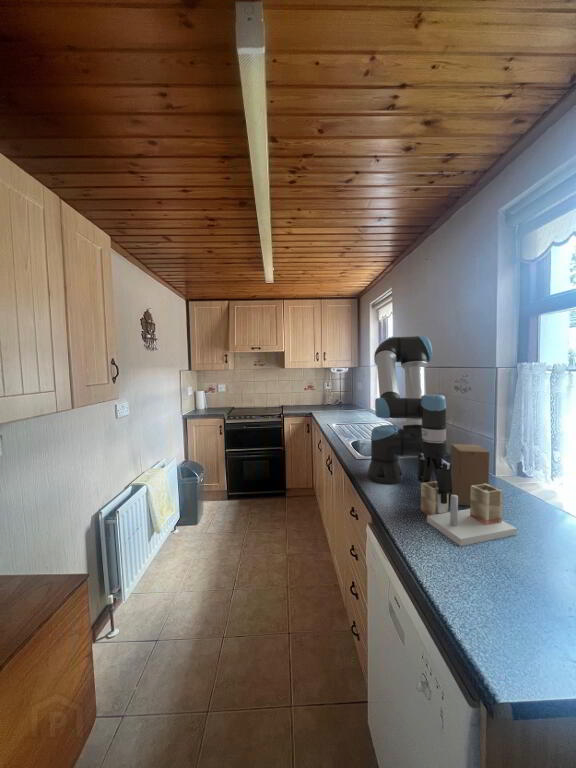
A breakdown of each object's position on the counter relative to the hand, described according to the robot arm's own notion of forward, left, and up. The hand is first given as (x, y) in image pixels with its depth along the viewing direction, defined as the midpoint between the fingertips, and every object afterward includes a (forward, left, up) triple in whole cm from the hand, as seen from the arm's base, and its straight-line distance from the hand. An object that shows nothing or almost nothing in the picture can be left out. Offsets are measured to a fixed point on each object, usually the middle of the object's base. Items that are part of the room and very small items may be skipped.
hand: (434, 507), depth 107 cm
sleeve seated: (+11, +10, 0) cm, 15 cm away
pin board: (+11, +4, -2) cm, 12 cm away
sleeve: (0, 0, -2) cm, 2 cm away
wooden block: (-5, +19, -2) cm, 20 cm away
